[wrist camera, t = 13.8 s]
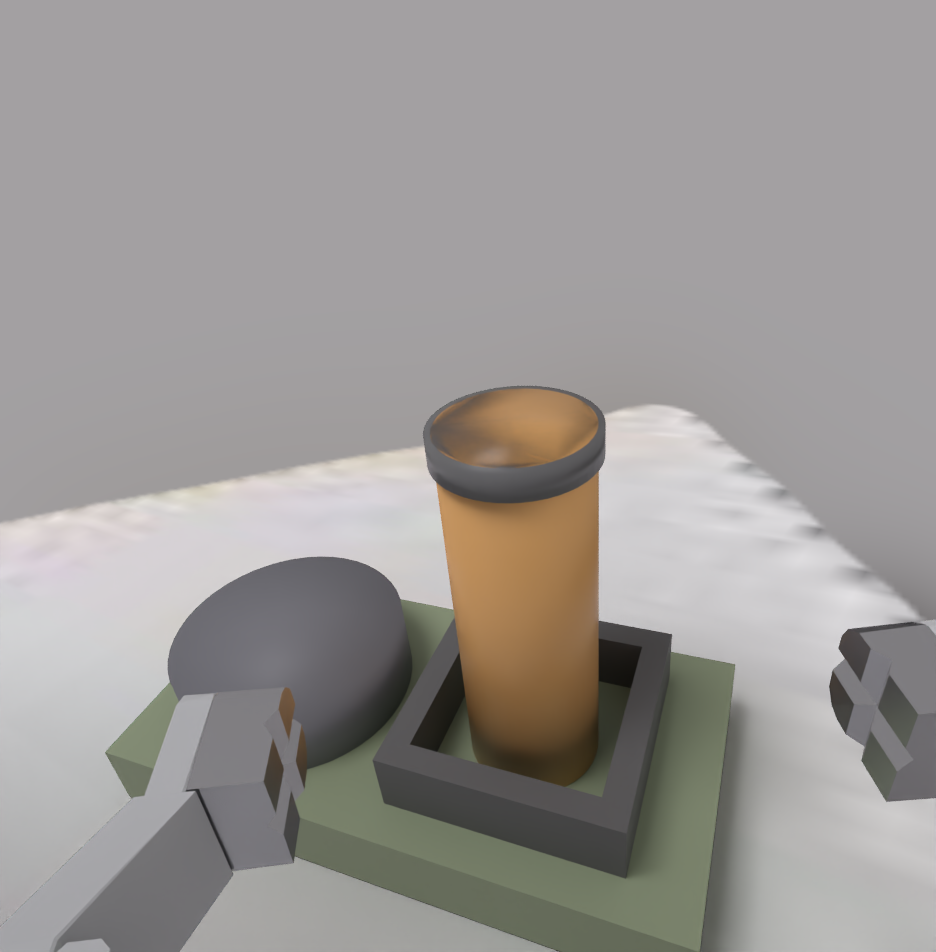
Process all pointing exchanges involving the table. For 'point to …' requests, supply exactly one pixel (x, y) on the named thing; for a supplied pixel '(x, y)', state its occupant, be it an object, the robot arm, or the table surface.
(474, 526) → the orange pill bottle
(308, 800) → the green slab
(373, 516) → the table surface
